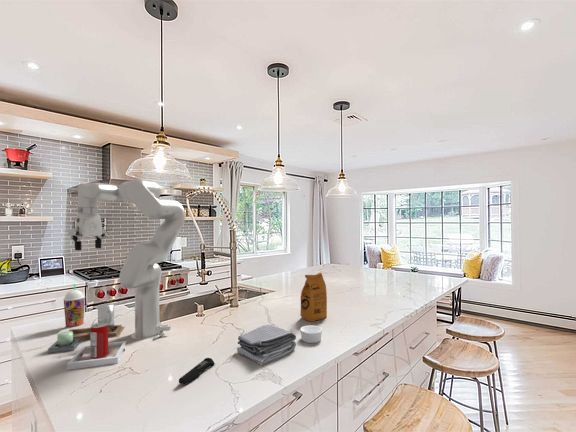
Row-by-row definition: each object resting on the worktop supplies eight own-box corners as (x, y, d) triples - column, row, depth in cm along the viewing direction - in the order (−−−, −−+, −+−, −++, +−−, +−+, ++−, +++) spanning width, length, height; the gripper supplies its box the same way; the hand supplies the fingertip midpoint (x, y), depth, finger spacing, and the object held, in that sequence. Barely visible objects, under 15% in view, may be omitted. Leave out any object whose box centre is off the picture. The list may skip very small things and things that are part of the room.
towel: (297, 350, 118) (297, 329, 118) (260, 367, 105) (259, 343, 105) (271, 339, 129) (271, 320, 129) (234, 353, 116) (234, 332, 116)
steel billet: (115, 329, 137) (115, 302, 137) (112, 334, 131) (112, 306, 131) (100, 331, 135) (100, 303, 135) (96, 336, 130) (96, 307, 130)
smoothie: (74, 330, 140) (74, 286, 140) (59, 329, 141) (58, 285, 141) (89, 324, 148) (89, 282, 148) (75, 323, 150) (74, 281, 150)
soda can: (111, 353, 116) (111, 321, 116) (103, 360, 111) (102, 326, 111) (96, 353, 116) (95, 321, 116) (87, 360, 110) (86, 326, 110)
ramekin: (324, 336, 130) (324, 326, 131) (319, 345, 122) (319, 334, 122) (303, 334, 133) (303, 324, 133) (297, 342, 125) (297, 331, 125)
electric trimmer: (175, 387, 93) (174, 376, 93) (206, 363, 108) (206, 354, 108) (185, 389, 92) (185, 379, 92) (215, 365, 107) (215, 356, 106)
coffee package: (297, 317, 155) (297, 273, 155) (316, 313, 163) (316, 270, 163) (310, 323, 147) (310, 276, 147) (329, 317, 155) (329, 273, 155)
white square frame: (126, 346, 123) (126, 341, 123) (117, 363, 108) (117, 357, 108) (82, 351, 118) (82, 345, 118) (67, 369, 104) (67, 363, 104)
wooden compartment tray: (124, 329, 141) (124, 323, 141) (118, 339, 129) (118, 333, 129) (68, 334, 135) (68, 328, 135) (56, 346, 122) (56, 339, 122)
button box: (81, 345, 124) (81, 337, 124) (73, 353, 116) (73, 345, 116) (57, 348, 121) (57, 340, 121) (48, 356, 114) (48, 348, 114)
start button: (74, 340, 122) (74, 330, 122) (70, 345, 117) (70, 335, 117) (60, 342, 120) (60, 332, 120) (55, 347, 116) (55, 336, 116)
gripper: (75, 211, 132) (75, 251, 132) (111, 211, 148) (111, 247, 148) (63, 211, 135) (63, 251, 135) (99, 211, 151) (99, 247, 151)
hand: (88, 249), depth 141 cm, fingers open, 9 cm apart
